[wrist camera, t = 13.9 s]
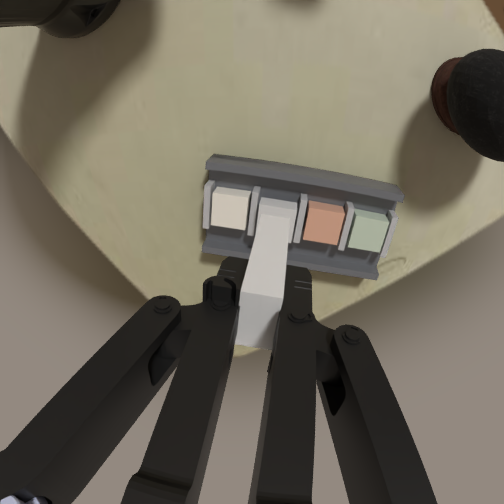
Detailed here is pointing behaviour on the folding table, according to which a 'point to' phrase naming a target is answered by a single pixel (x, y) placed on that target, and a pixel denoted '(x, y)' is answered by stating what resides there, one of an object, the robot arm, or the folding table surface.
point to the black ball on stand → (473, 100)
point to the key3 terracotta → (323, 222)
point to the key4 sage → (367, 230)
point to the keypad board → (300, 211)
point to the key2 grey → (278, 211)
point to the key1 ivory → (230, 208)
